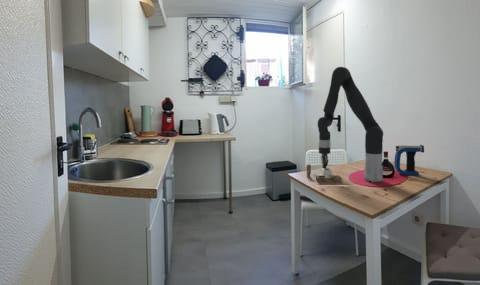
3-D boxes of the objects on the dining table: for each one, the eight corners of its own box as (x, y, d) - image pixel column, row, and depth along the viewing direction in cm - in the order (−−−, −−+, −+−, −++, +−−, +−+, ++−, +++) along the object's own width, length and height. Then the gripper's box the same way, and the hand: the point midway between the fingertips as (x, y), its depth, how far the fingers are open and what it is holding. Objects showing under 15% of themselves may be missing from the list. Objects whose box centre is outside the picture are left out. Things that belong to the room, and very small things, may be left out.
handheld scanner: (423, 175, 172) (425, 145, 170) (395, 175, 175) (397, 145, 173) (419, 174, 176) (421, 144, 174) (393, 173, 180) (394, 144, 177)
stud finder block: (328, 173, 178) (329, 167, 178) (331, 176, 172) (331, 170, 171) (321, 174, 179) (321, 167, 178) (323, 176, 172) (323, 170, 171)
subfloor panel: (332, 175, 179) (332, 173, 179) (341, 184, 159) (341, 182, 158) (311, 175, 181) (311, 173, 180) (317, 184, 160) (317, 182, 160)
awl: (310, 177, 174) (310, 164, 173) (311, 178, 172) (311, 165, 170) (306, 177, 174) (306, 164, 173) (306, 178, 172) (307, 165, 170)
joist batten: (339, 180, 163) (339, 175, 163) (341, 182, 158) (341, 177, 158) (315, 180, 165) (315, 175, 164) (317, 182, 160) (317, 177, 159)
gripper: (332, 147, 173) (332, 173, 175) (328, 144, 186) (327, 169, 188) (320, 147, 173) (320, 173, 176) (317, 145, 186) (316, 169, 189)
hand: (324, 171), depth 182 cm, fingers closed
